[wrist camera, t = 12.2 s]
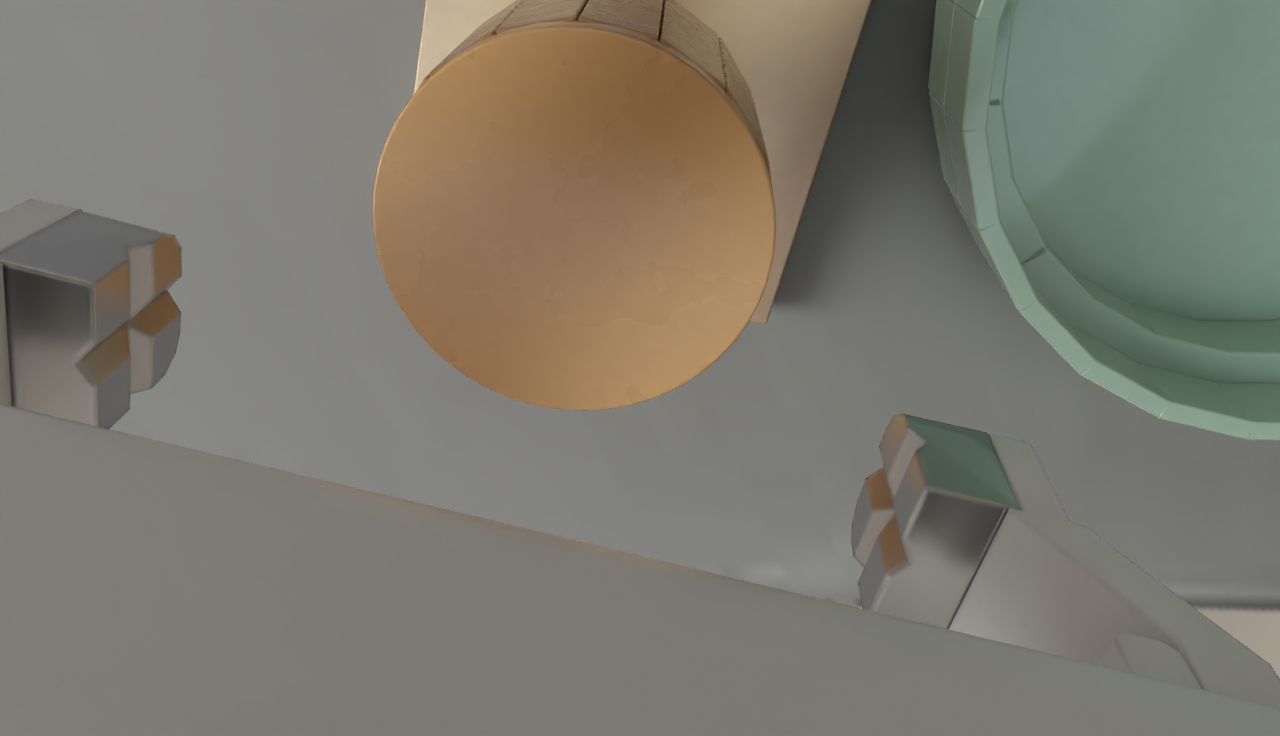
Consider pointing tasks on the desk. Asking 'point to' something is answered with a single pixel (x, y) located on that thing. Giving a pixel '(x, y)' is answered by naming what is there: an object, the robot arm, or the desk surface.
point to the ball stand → (771, 65)
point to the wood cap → (579, 203)
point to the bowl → (1127, 189)
